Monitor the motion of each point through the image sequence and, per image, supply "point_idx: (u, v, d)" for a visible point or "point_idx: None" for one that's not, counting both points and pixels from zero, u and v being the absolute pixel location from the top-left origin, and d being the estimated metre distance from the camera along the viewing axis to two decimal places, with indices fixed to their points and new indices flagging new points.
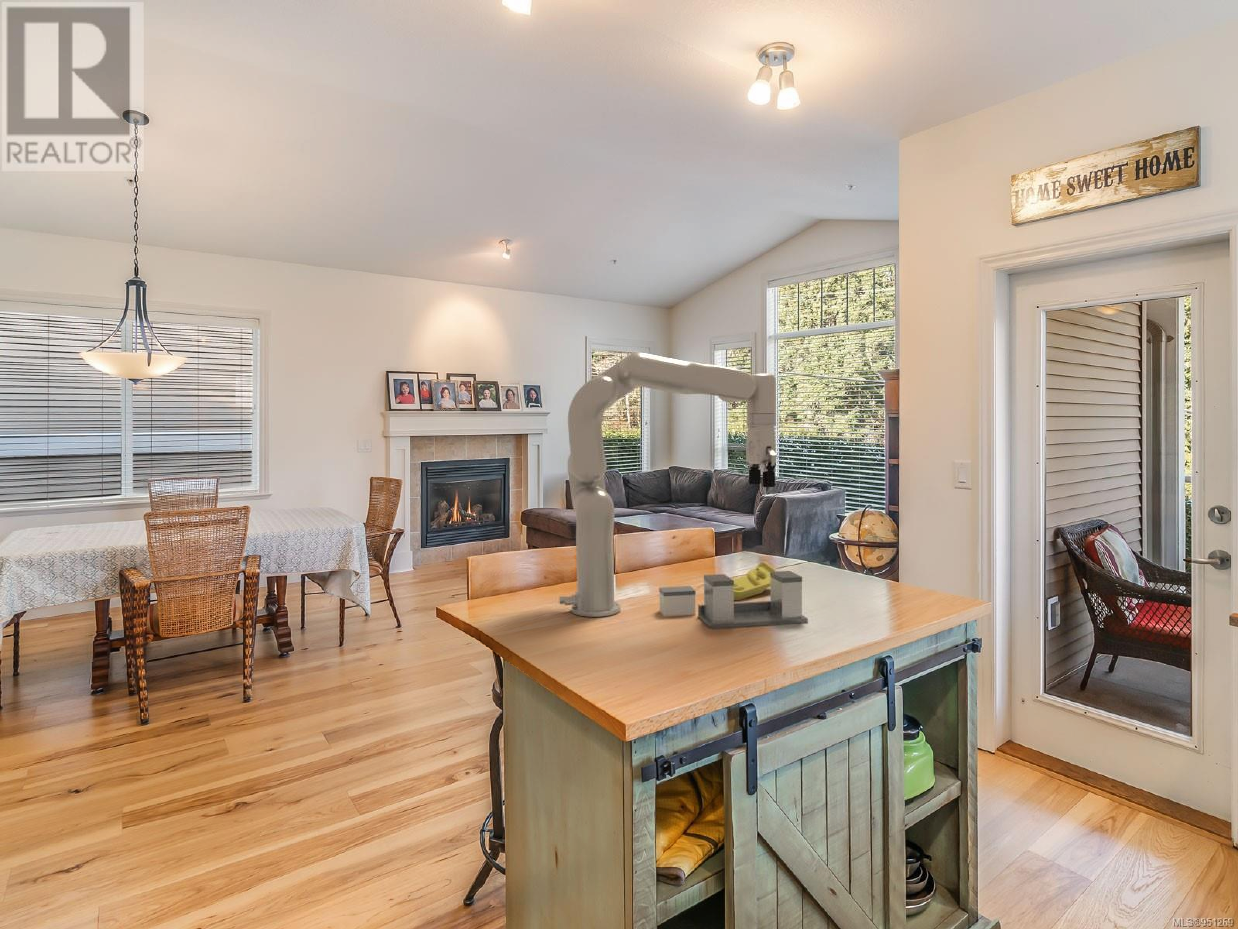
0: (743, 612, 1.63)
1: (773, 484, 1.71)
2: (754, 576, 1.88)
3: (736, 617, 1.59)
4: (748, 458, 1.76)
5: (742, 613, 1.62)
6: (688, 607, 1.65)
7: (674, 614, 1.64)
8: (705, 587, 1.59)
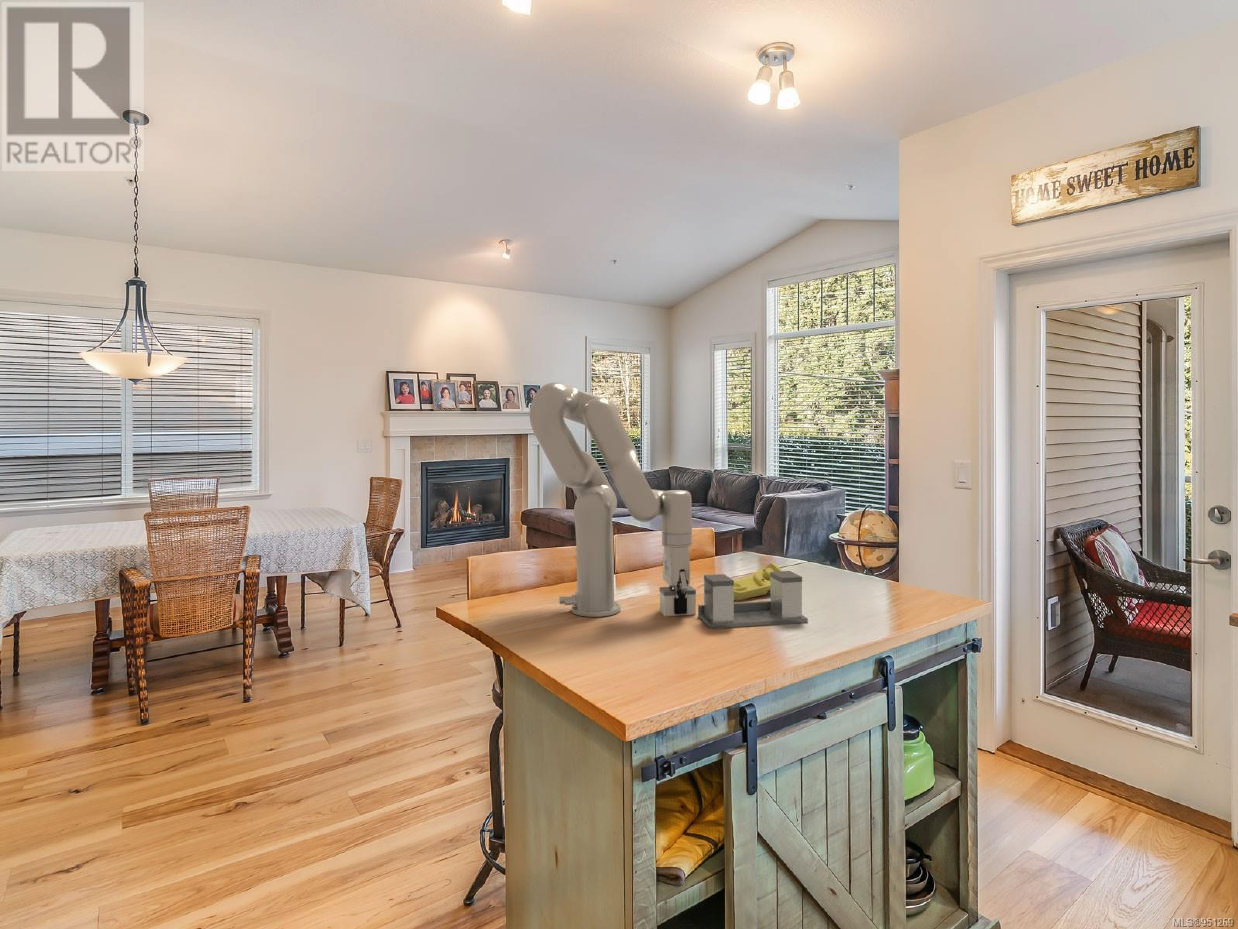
0: (743, 612, 1.63)
1: (685, 611, 1.64)
2: (759, 577, 1.86)
3: (736, 617, 1.59)
4: (664, 577, 1.68)
5: (742, 613, 1.62)
6: (688, 606, 1.65)
7: (674, 614, 1.64)
8: (705, 587, 1.59)
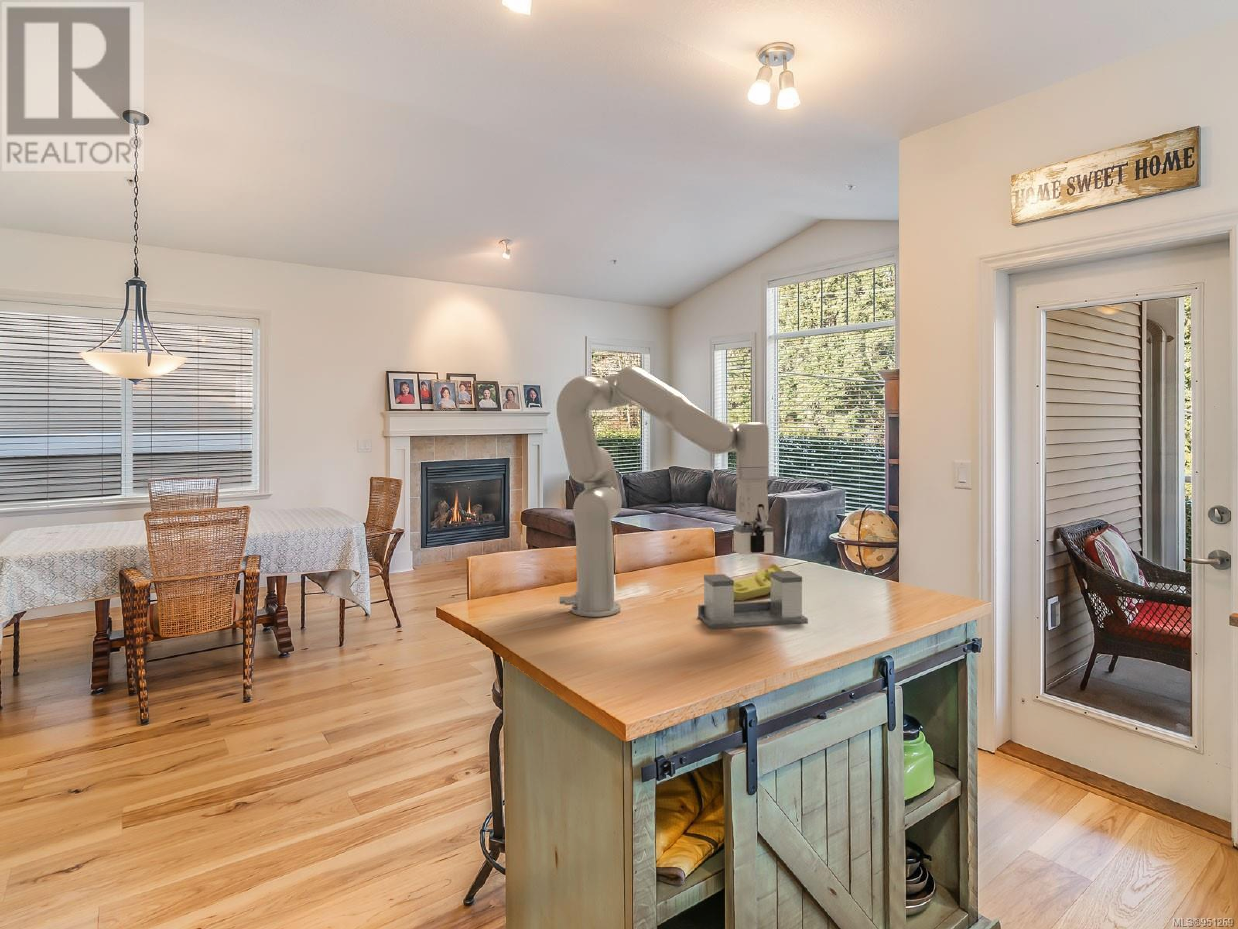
0: (743, 612, 1.63)
1: (762, 549, 1.55)
2: (761, 577, 1.86)
3: (736, 617, 1.59)
4: (738, 514, 1.59)
5: (742, 613, 1.62)
6: (765, 545, 1.56)
7: (751, 552, 1.55)
8: (705, 587, 1.59)
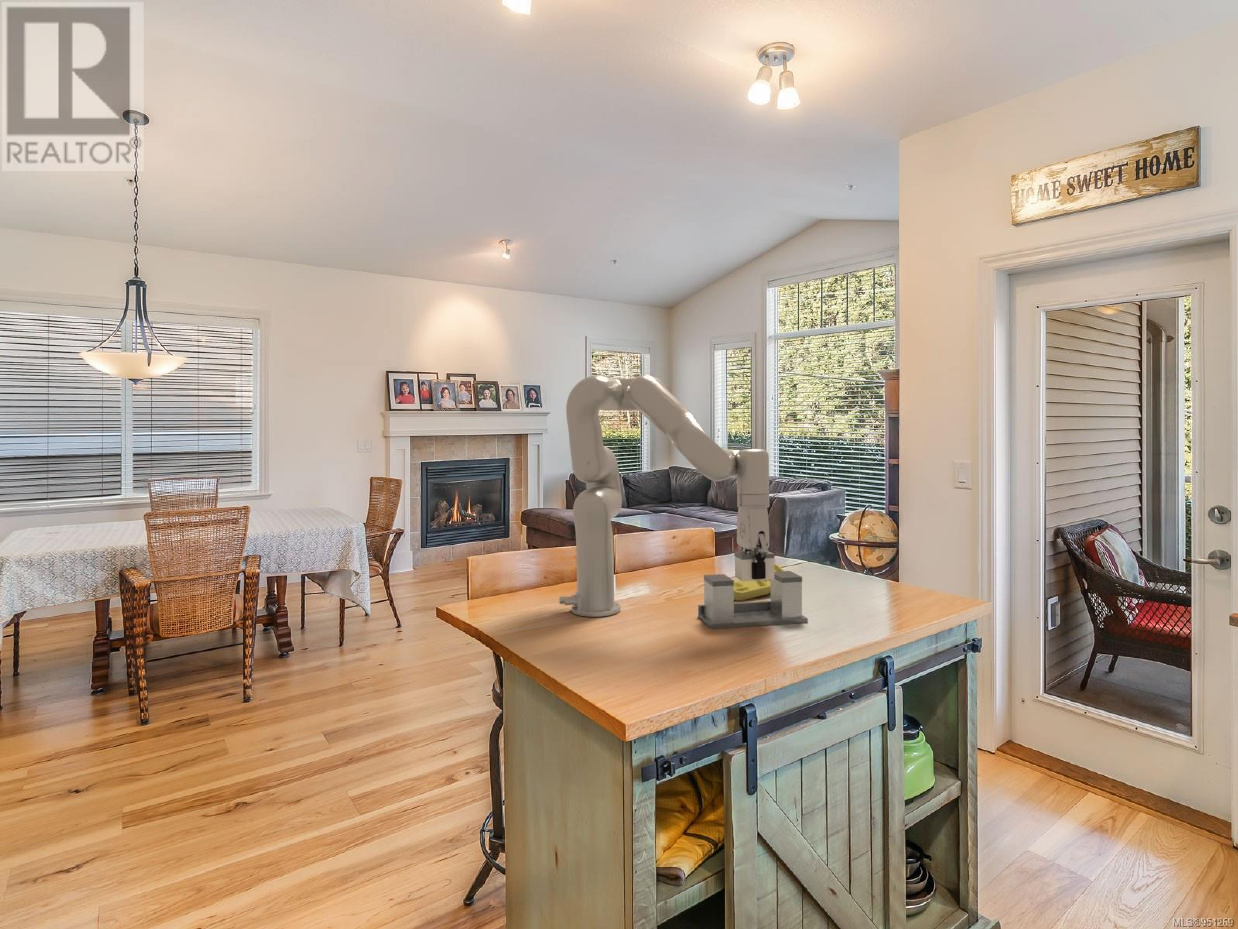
0: (743, 612, 1.63)
1: (763, 576, 1.55)
2: None
3: (736, 617, 1.59)
4: (739, 541, 1.59)
5: (742, 613, 1.62)
6: (767, 571, 1.56)
7: None
8: (705, 587, 1.59)
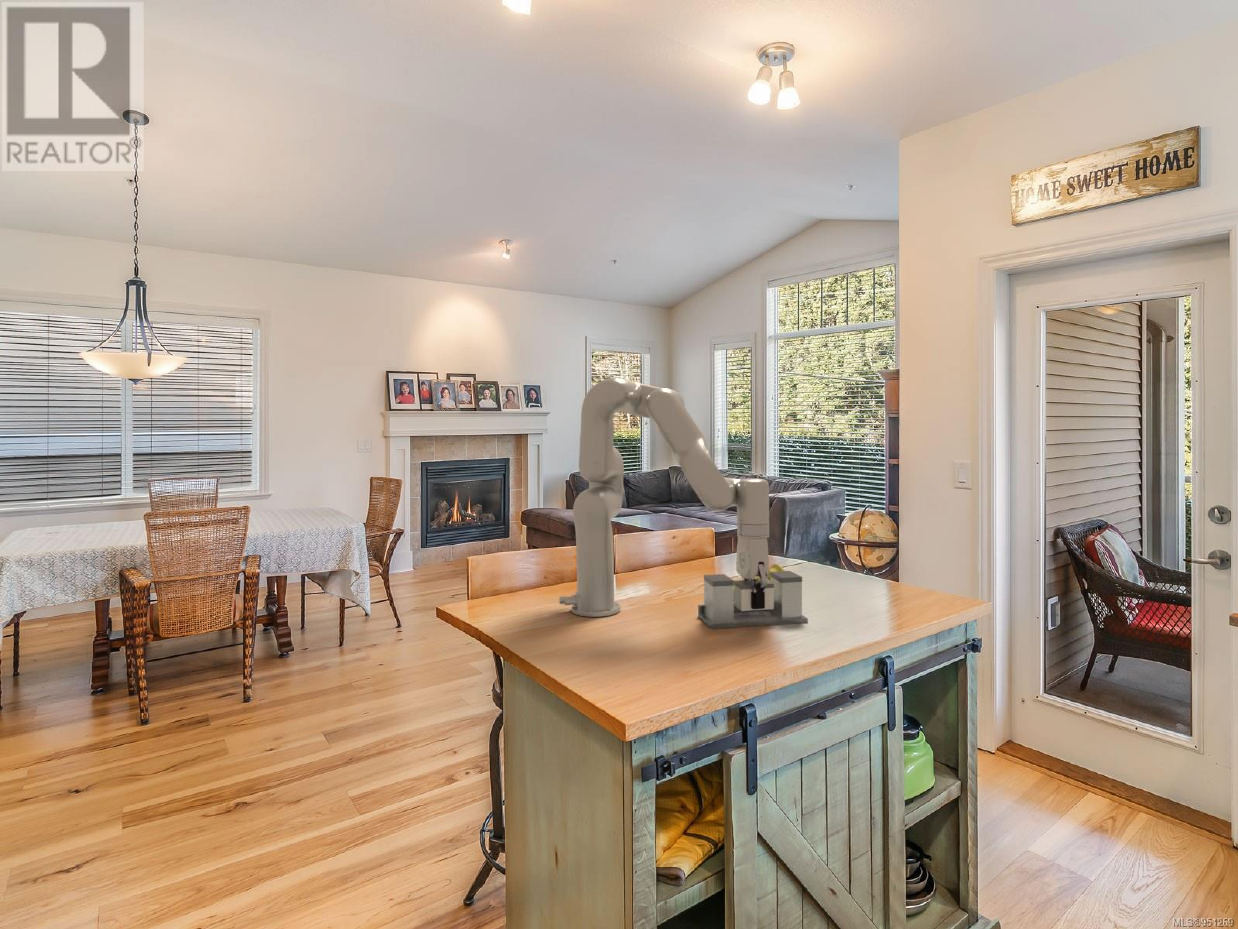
0: (743, 612, 1.63)
1: (763, 606, 1.56)
2: None
3: (736, 617, 1.59)
4: (739, 570, 1.60)
5: (742, 613, 1.62)
6: (766, 601, 1.56)
7: None
8: (705, 587, 1.59)
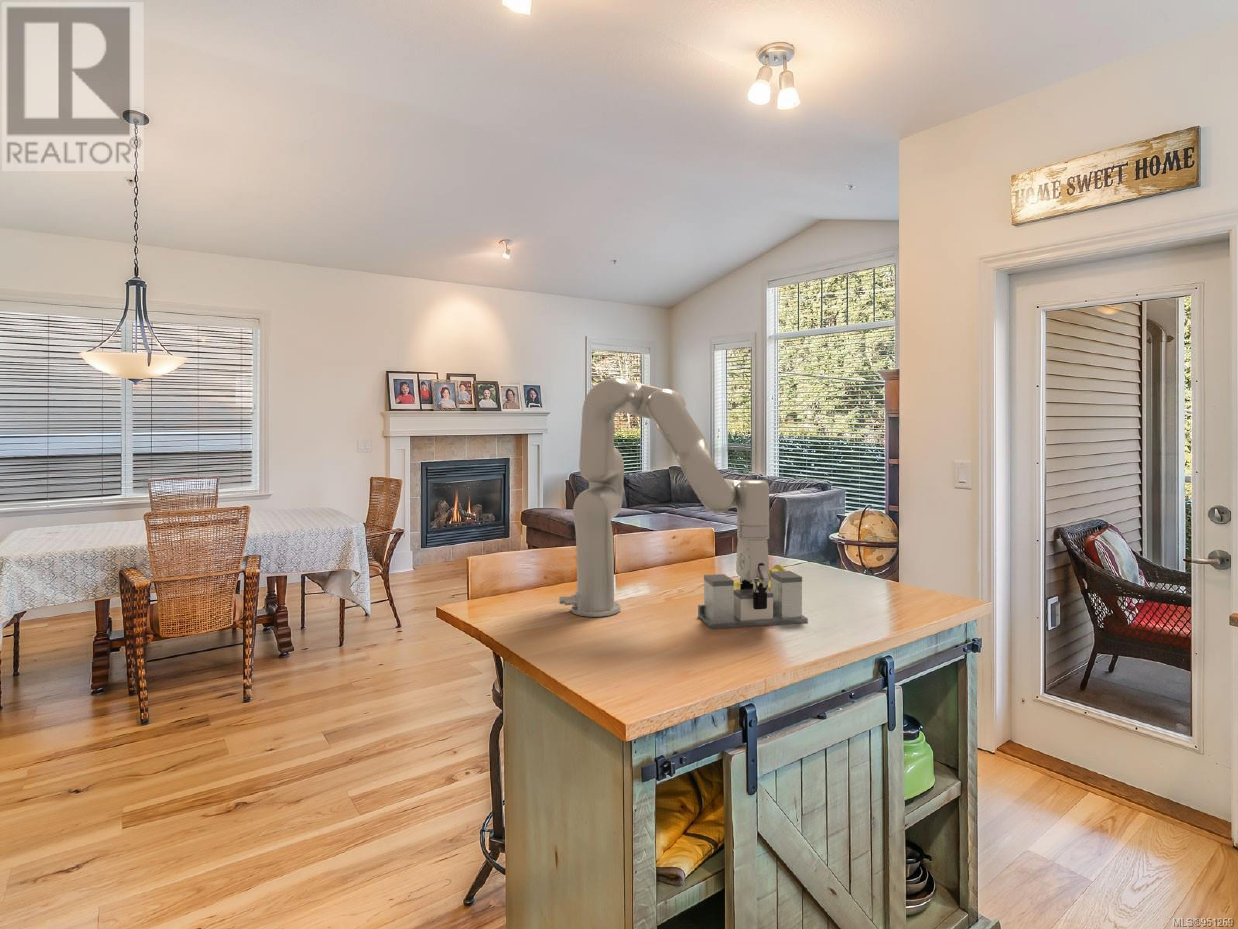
0: None
1: (765, 606, 1.54)
2: None
3: (736, 617, 1.59)
4: (739, 571, 1.60)
5: None
6: (765, 610, 1.57)
7: (751, 618, 1.56)
8: (705, 587, 1.59)
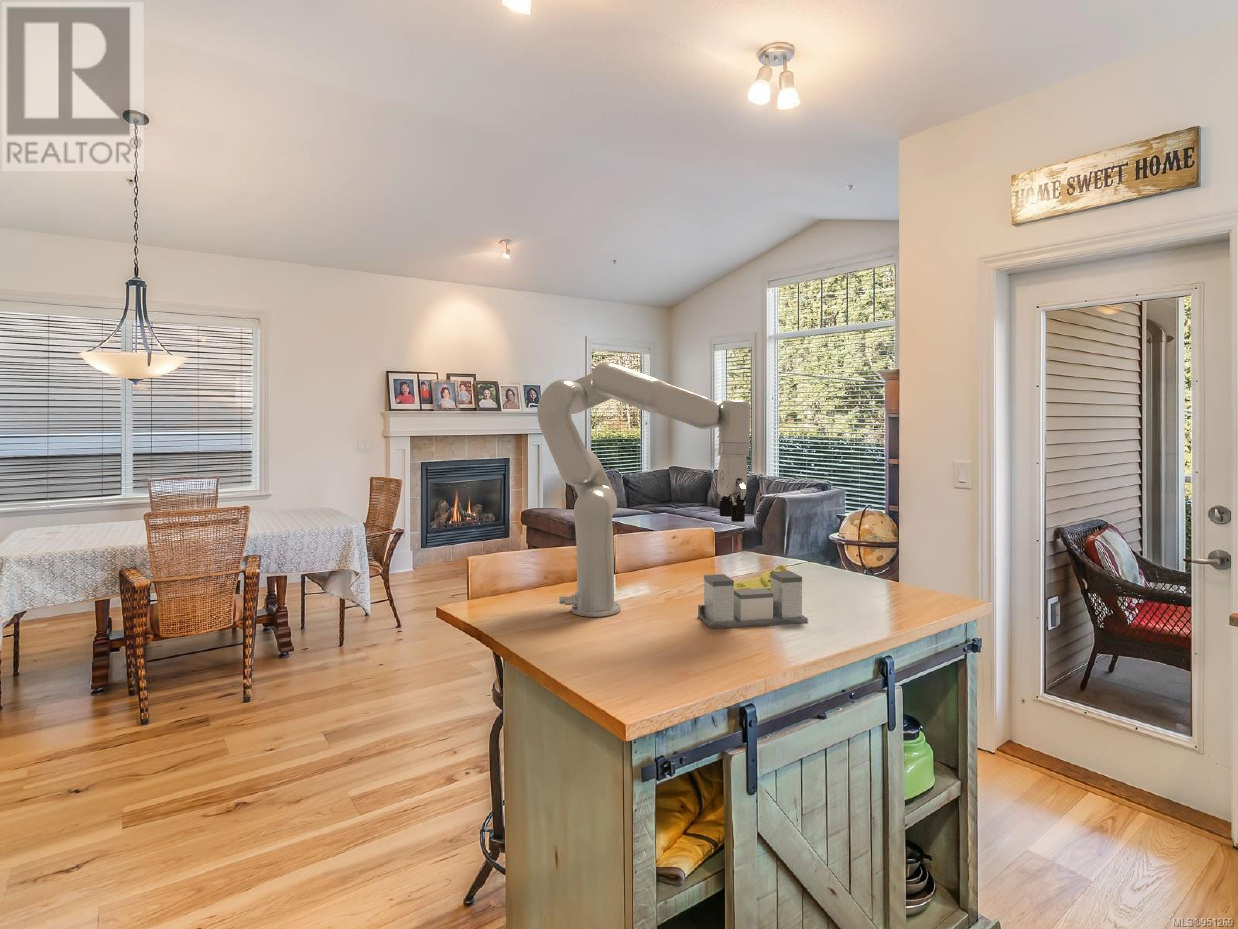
0: None
1: (742, 519, 1.59)
2: (766, 578, 1.85)
3: (736, 617, 1.59)
4: (719, 489, 1.65)
5: None
6: (765, 610, 1.57)
7: (751, 618, 1.56)
8: (705, 587, 1.59)
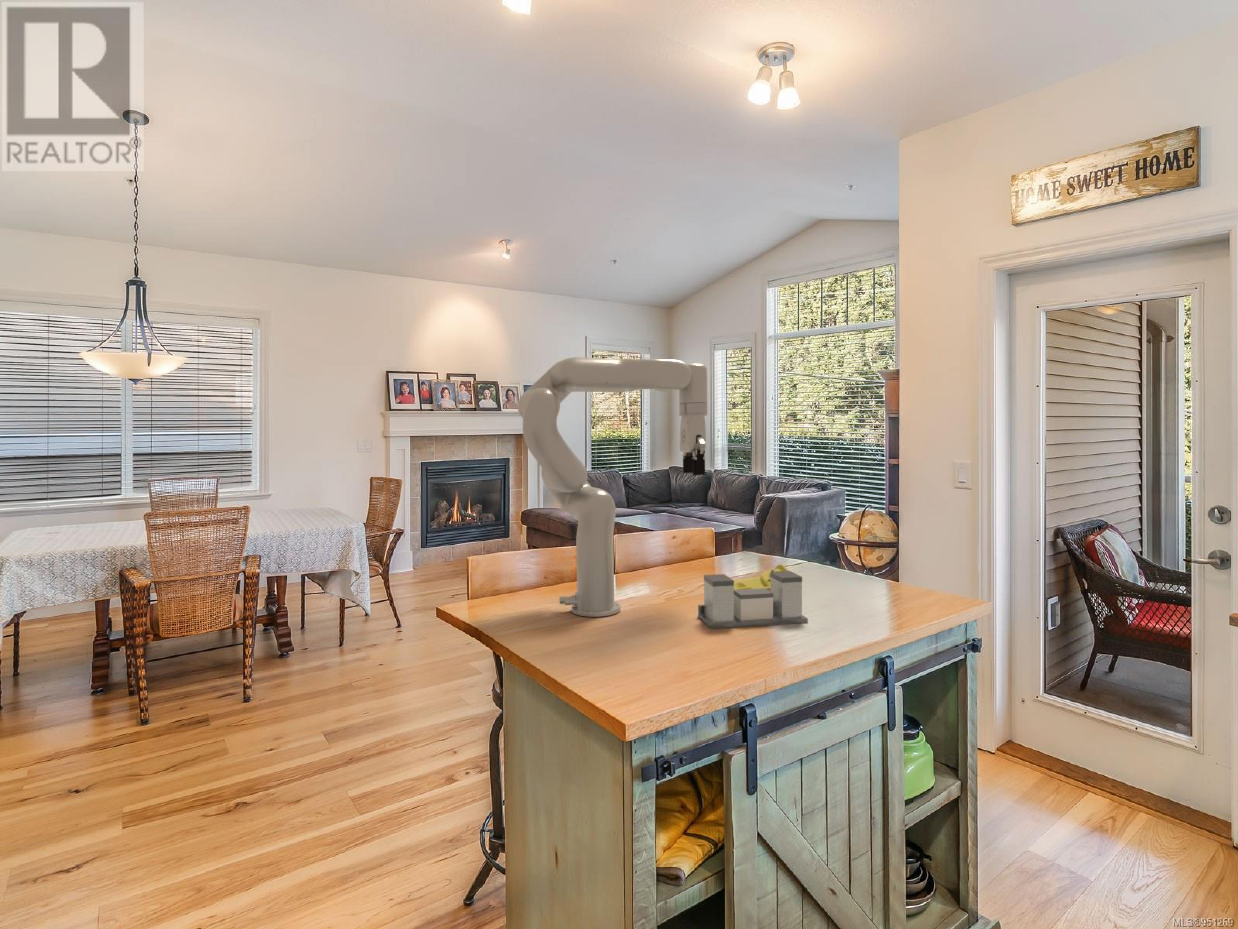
0: None
1: (703, 472, 1.74)
2: (766, 578, 1.85)
3: (736, 617, 1.59)
4: (681, 446, 1.79)
5: None
6: (765, 610, 1.57)
7: (751, 618, 1.56)
8: (705, 587, 1.59)
